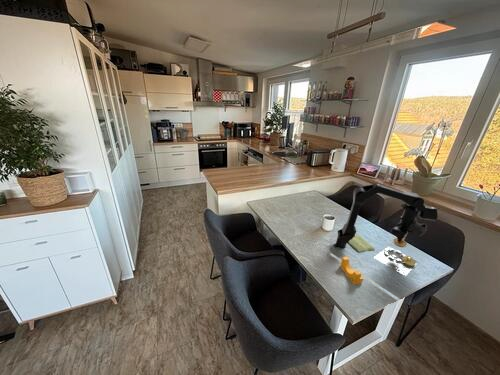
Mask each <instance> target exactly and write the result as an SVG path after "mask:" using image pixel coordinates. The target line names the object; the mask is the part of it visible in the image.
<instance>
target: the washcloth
mask: <svg viewBox="0 0 500 375" xmlns="http://www.w3.org/2000/svg"><path fill="white" fill-rule="evenodd" d="M347 244H349V245H350V247H351V248H353V249H354V250H355V251H357V253H360V254H361V253H366V252H368V251H370V252H371V251H372V252H373V251H375V250H376V248H375V247H374V246H373V245H372V244H370V243H369V242H368V241H367V240H365V238H364V237H362V236H361V235H360V234H358V233H356V234H355V237H353V239H351V240H350V241H349V242H348V243H347Z"/></svg>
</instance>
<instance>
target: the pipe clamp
mask: <svg viewBox="0 0 500 375" xmlns="http://www.w3.org/2000/svg"><path fill="white" fill-rule="evenodd" d="M340 268H341V269H342V271H343V272H344V273H345V275H346V276H347V277H348V279H349V280H350V281H351V283H352V284H353V285H358V284H362V283H363V280H364V278H363V277H362V273H361V272H360V271H359V270H357V271H356V270H355V269H352V268H351V266H350V258H348V256H343V257H342V258H341V263H340Z"/></svg>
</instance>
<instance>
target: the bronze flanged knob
mask: <svg viewBox="0 0 500 375" xmlns="http://www.w3.org/2000/svg"><path fill="white" fill-rule="evenodd" d="M405 239H406V237H404V238H403V239H402V240H401V242H399V241H398V239H397V237H395V238H394V239H393V241H392V243H393V244H394V245H395V246H396V247H398V248H406V247H407V246H408V243H407V241H405Z"/></svg>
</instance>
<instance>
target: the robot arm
mask: <svg viewBox="0 0 500 375" xmlns="http://www.w3.org/2000/svg"><path fill="white" fill-rule="evenodd" d="M377 194H382V195H383V196H387V197H390V198H392V199H395V200H398V201H399V200H400V201H401V202H404V203H402V204H401V205H400V207H401V209H403V212H402V215H401V216H400V218H399V219H400V221H399V222H398V224H397V226H394V227H392V228H391V230H390V233H391V234H393V235H394V236H396V238H397V239H398V241H399V242H401V240H402V239H403V238H404V237H405V238H406V237H408V236H409V235H410V234H409V233H415V234H416V235H417V236H418V237H422V235H424V234H426V232H427V231H428V228H427V227H428V225H427V223H419V222H418V220H417V218H419V219H421V220H427V221H428V220H429V221H432V222H433V221H434V222H435V221H437V219H438V215H439V214H438V208H437V207H434V206H425V200H424V198H422V196H421V195H419V194H418V193H416V192H412V191H401V190H398V189H395V188H392V187H388V186H385V185H382V184H380V183H373V184H369V185H363V186H357V187H355V188H354V190H353V193H352V195H353V196H352V200H353V201H352V205H351V208H350V211H349V215H348V217H347V221H346V222H345V224H343V226H342V228H341V229H339V230H337V238H336V242H335V243H334V244H332V246H333V247H335V248H336V249H338V248H339V249H345V248H346V247H347V244H349V243H348V242H349V241H350V240H351V239H353V237H355V234H357V229H356V226H355V225H356V221H357V219H358V216H359V212H360V209H361V207H362V205H364V203H365V202H366V200H367V199H369V198H372V197H373V196H374V195H375V196H376V195H377Z"/></svg>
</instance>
